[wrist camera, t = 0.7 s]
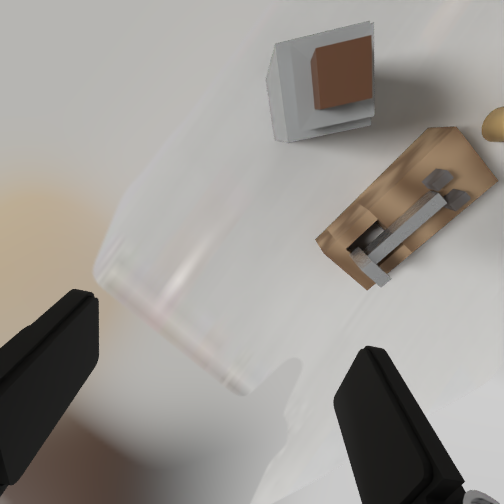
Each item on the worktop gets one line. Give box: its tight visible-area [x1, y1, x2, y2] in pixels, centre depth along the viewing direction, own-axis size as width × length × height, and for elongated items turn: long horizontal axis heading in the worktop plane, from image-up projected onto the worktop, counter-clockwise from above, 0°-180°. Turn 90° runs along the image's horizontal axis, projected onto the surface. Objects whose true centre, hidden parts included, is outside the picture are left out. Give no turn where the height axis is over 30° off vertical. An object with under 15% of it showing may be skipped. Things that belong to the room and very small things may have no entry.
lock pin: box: [349, 190, 447, 287], centre depth 32 cm, size 12×4×4 cm, turn 140°
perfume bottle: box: [266, 21, 375, 143], centre depth 24 cm, size 7×7×18 cm
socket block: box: [315, 127, 498, 290], centre depth 34 cm, size 20×9×7 cm, turn 140°
